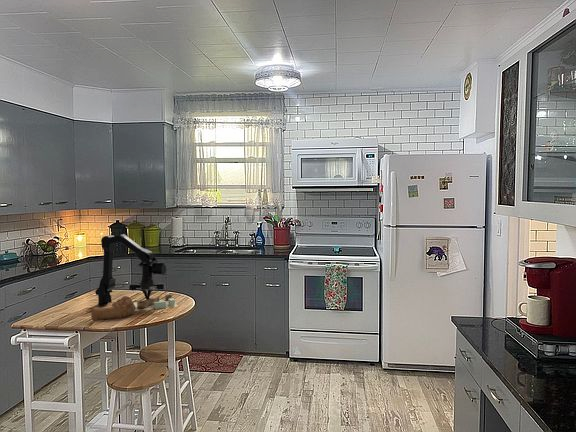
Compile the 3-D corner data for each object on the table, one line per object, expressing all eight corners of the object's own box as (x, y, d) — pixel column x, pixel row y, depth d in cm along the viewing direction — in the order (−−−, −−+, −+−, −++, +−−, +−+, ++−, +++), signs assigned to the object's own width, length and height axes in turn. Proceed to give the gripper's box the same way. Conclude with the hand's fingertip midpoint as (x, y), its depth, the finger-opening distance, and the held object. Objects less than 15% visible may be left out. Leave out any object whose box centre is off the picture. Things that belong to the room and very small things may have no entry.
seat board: (134, 313, 250) (134, 305, 249) (130, 304, 269) (130, 297, 268) (178, 308, 259) (178, 300, 259) (171, 300, 278) (171, 293, 278)
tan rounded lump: (128, 328, 234) (139, 312, 248) (125, 310, 230) (137, 294, 244) (92, 327, 236) (105, 311, 250) (88, 309, 232) (102, 293, 246)
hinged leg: (142, 309, 253) (141, 302, 252) (135, 308, 254) (135, 301, 254) (160, 302, 268) (159, 295, 268) (154, 301, 269) (153, 295, 269)
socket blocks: (154, 308, 254) (154, 302, 254) (152, 306, 260) (152, 300, 260) (175, 306, 258) (175, 300, 258) (173, 303, 264) (173, 298, 264)
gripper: (126, 276, 255) (127, 305, 256) (162, 276, 258) (162, 304, 258) (131, 273, 267) (131, 300, 267) (165, 272, 269) (165, 299, 269)
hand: (147, 301), depth 265 cm, fingers closed
